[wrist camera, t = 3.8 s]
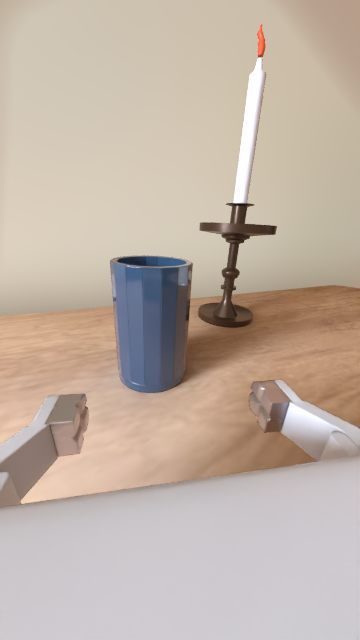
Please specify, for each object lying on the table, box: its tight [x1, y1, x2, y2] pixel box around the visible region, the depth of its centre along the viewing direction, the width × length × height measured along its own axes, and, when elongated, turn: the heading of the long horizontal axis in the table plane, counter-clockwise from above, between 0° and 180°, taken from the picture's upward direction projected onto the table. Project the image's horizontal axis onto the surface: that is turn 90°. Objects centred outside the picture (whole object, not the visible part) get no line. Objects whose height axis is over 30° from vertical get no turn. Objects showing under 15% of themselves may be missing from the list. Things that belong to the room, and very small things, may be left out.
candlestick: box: [198, 24, 277, 327], centre depth 31 cm, size 11×11×35 cm
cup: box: [110, 256, 193, 393], centre depth 20 cm, size 7×7×11 cm
